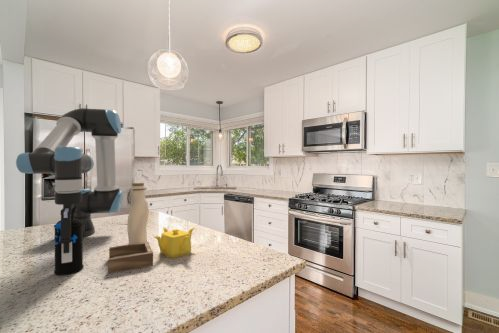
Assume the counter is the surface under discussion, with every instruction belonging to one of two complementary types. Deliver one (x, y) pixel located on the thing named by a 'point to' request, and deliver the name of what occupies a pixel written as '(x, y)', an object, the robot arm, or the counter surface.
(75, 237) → the aerosol can
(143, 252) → the u rest
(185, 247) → the teapot
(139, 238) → the water bottle
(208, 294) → the counter surface
